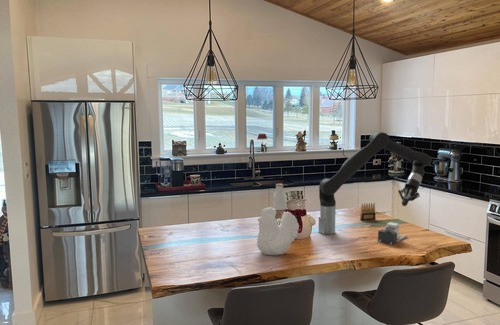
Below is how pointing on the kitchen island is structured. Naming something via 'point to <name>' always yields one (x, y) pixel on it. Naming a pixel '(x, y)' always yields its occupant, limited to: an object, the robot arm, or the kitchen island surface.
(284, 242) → the decorative rooster
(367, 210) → the ammunition clip
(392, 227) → the grooved white block
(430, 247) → the kitchen island surface
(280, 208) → the white bottle
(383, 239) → the grey boxy device
